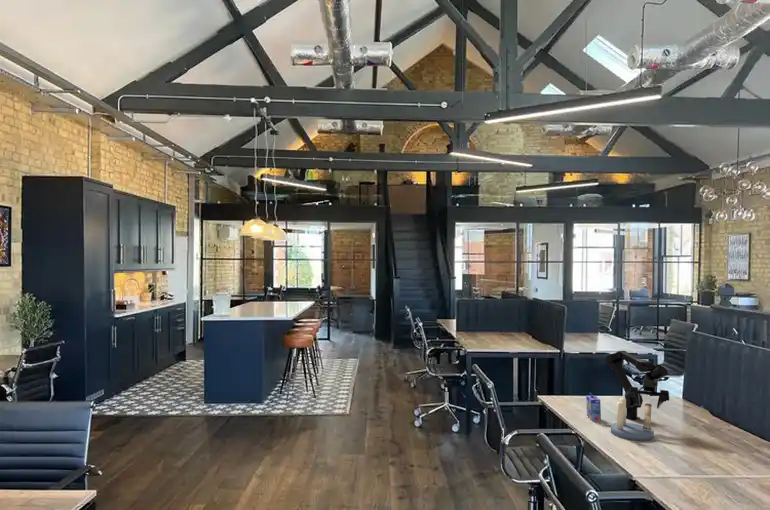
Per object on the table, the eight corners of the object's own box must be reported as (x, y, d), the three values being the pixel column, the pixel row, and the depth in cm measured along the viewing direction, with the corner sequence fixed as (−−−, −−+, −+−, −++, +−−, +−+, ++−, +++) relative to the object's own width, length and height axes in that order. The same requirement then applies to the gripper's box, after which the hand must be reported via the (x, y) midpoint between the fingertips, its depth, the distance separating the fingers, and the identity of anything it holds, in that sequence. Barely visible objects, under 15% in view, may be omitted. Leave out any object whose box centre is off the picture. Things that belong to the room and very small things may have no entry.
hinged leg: (643, 429, 263) (645, 405, 269) (650, 430, 261) (651, 406, 267) (643, 427, 261) (644, 403, 266) (650, 428, 259) (651, 404, 265)
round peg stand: (614, 426, 279) (614, 395, 279) (655, 432, 268) (655, 401, 268) (607, 435, 262) (607, 403, 262) (651, 443, 251) (651, 409, 252)
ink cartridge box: (585, 416, 297) (585, 391, 298) (595, 416, 297) (595, 391, 297) (591, 421, 287) (591, 395, 288) (601, 421, 287) (601, 395, 287)
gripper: (629, 371, 281) (626, 395, 271) (668, 375, 271) (666, 400, 261) (632, 383, 287) (629, 407, 277) (670, 387, 277) (668, 412, 267)
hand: (648, 406), depth 271 cm, fingers open, 9 cm apart
